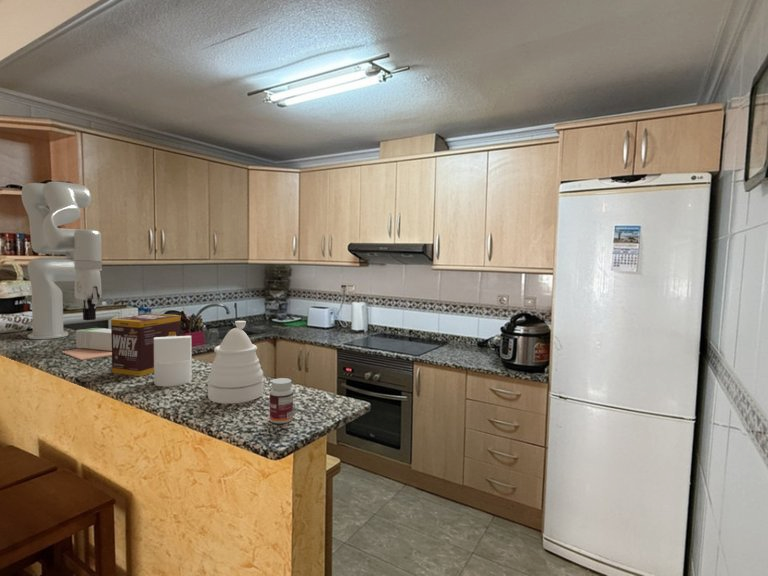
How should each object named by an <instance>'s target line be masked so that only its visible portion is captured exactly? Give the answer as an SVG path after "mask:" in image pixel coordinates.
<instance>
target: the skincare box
mask: <svg viewBox="0 0 768 576" xmlns="http://www.w3.org/2000/svg"><path fill="white" fill-rule="evenodd" d="M75 333H76V335H75V348H76V349H81V348H86V349H97V350H108V351H112V338H111V328H104V327H102V328H101V327H93V328H85V329H84V328H83V329H77V330H75Z"/></svg>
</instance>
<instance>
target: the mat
mask: <svg viewBox="0 0 768 576" xmlns="http://www.w3.org/2000/svg"><path fill="white" fill-rule="evenodd" d="M60 352H61V354H64V353H65V354H64V355H67V356H69V355H70V357H73V358H74V357H75V358H74V359H76V360H79V361H86V360H91V359H92V360H93V359H98V358H99V359H100V358H104V357H112V351H108V350H97V349H86V348H76V349H69V350H61V351H60Z"/></svg>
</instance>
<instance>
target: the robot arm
mask: <svg viewBox="0 0 768 576" xmlns="http://www.w3.org/2000/svg"><path fill="white" fill-rule="evenodd" d="M20 195H21V201H22V204H23V207H24V209H25V211H26V214H27V216H28V221H29V234H30V245H31V248H32V251H33V252H35V253H37V254H41V255H42V254H43V255H65V257H56V256H55V257H51V256H50V257H49V256H48V257H46V256H45V257H36V258H32V259H31V260H30V261H29V262H28V264H27V272H28V273H27V274H28V277H29V281H30V282H29V283H30V287H31V288H30V290H31V291H30V292H31V312H32V313H31V315H32V319H31V320H32V321H31V322H32V333H29V334H27V339H30V340H50V339H51V340H52V339H58V338H59V339H60V338H64V337H67V336H68V335H69V332H68V331H65V330H64V306H63V305H64V303H63V302H64V300H63V299H64V298H63V295H64V294H63V291H62V290H61V288H60V286H58V285H57V284H56V283H57V282H74V293H73V294H74V298H75V299H77V300H80V301H81V305H82V319H83V320H84V321H94V320H96V319H97V316H96V312H97V310H96V308H97V304H99V301H98V300H100V299H101V298H102V279H101V272H100V271H103V267H102V266H103V264H102V262H103V261H102V259H103V258H102V234H101V232H100V231H99V230H97V229H95V230H94V229H86V228H85V229H77V228H61V226H64V225H67V224H71V223H73V222H76V221H78V220H79V218H80V217H81V214H82V213H81V212H82V211H81V209H83V208H87V207H88V206H90V204H91V202H92V194H91V192H90V190H89V189H88V187H86V186H85V185H83V184H79V183H71V182H66V181H65V182H64V181H57V180H55V181H48V182H46V183H43V182H42V183H40V182H29V183H26V184H23V186H22V188H21V194H20ZM59 226H60V227H59ZM55 282H56V283H55Z"/></svg>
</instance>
